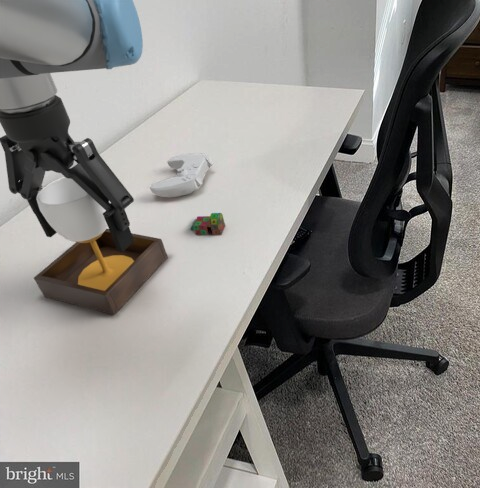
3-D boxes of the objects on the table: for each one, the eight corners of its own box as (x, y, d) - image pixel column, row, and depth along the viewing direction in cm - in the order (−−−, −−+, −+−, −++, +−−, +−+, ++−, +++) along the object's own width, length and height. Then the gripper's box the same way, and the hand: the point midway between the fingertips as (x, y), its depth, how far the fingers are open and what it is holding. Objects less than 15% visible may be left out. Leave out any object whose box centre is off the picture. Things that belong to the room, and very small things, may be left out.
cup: (147, 259, 80) (114, 174, 70) (115, 297, 73) (74, 209, 63) (100, 253, 82) (62, 170, 72) (65, 289, 75) (18, 203, 65)
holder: (114, 315, 71) (105, 295, 68) (44, 297, 75) (33, 277, 72) (168, 257, 81) (161, 238, 78) (103, 244, 85) (95, 226, 82)
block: (226, 221, 88) (223, 205, 86) (221, 234, 85) (217, 218, 83) (195, 221, 88) (190, 205, 86) (188, 234, 85) (183, 219, 83)
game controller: (168, 152, 104) (210, 142, 102) (177, 170, 107) (218, 160, 104) (143, 188, 93) (189, 177, 91) (154, 206, 95) (199, 196, 93)
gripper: (128, 97, 59) (173, 236, 71) (-19, 85, 66) (46, 213, 79) (84, 122, 53) (142, 268, 66) (-70, 106, 61) (8, 240, 74)
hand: (90, 239), depth 73 cm, fingers open, 13 cm apart
